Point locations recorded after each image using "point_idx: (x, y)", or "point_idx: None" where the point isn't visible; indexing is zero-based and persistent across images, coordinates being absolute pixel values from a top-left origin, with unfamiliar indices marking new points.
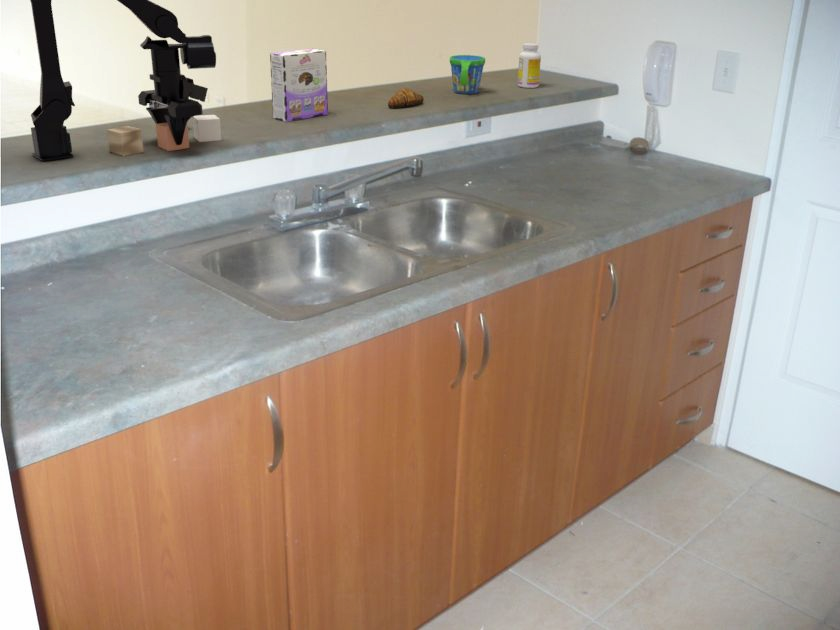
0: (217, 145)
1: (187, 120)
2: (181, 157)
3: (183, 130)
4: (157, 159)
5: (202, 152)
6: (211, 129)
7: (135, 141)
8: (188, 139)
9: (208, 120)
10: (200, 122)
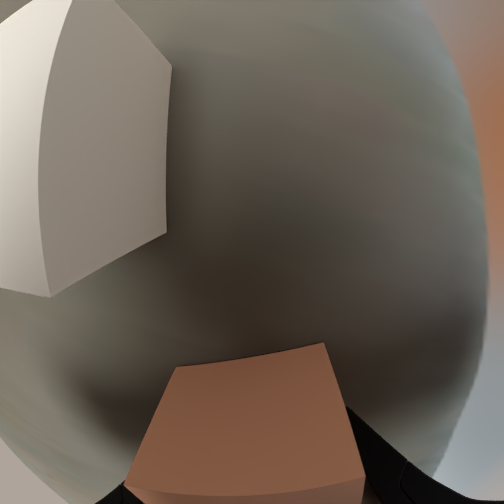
0: (335, 131)
1: (477, 502)
2: (463, 388)
3: (406, 465)
4: (424, 451)
5: (458, 290)
6: (122, 108)
7: None
8: (335, 380)
9: (51, 113)
10: (64, 246)
